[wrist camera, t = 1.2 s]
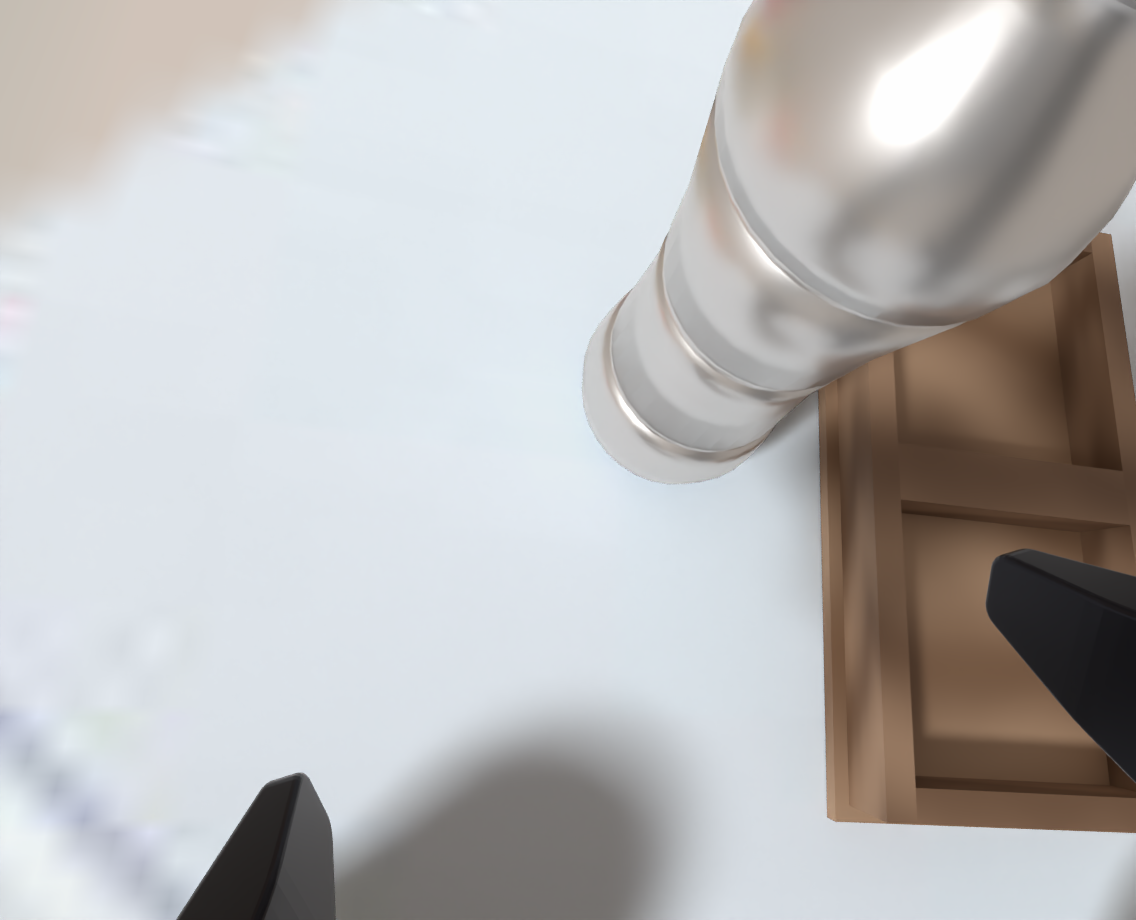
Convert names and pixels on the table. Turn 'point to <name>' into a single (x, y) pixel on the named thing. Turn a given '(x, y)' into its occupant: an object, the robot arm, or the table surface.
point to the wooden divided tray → (972, 558)
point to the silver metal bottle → (861, 208)
